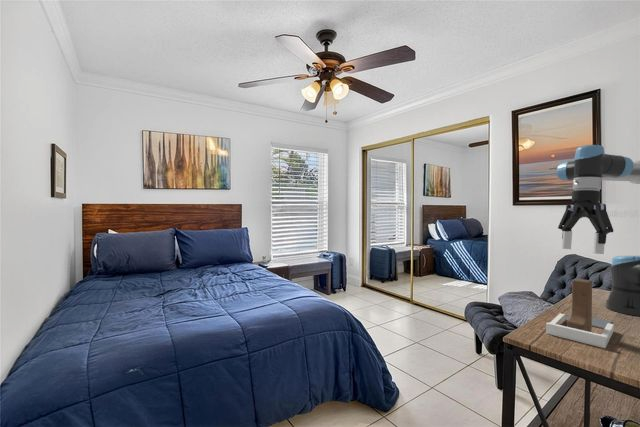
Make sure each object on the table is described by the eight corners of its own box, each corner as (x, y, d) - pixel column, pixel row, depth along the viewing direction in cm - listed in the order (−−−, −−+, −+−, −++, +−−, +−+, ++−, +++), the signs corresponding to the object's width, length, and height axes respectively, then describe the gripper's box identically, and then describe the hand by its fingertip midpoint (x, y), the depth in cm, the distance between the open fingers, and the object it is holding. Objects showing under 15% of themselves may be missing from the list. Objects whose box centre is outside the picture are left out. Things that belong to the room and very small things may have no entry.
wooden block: (583, 338, 101) (584, 284, 101) (566, 334, 105) (567, 281, 104) (591, 332, 106) (592, 280, 106) (575, 328, 110) (576, 278, 109)
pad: (571, 313, 124) (571, 312, 124) (611, 322, 115) (611, 321, 115) (564, 320, 117) (564, 319, 117) (607, 329, 108) (607, 328, 108)
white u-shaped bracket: (559, 319, 118) (559, 310, 118) (613, 331, 107) (613, 321, 106) (546, 333, 105) (546, 323, 105) (605, 348, 94) (605, 337, 94)
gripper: (549, 192, 119) (545, 246, 119) (607, 186, 94) (601, 255, 94) (569, 193, 119) (565, 248, 119) (632, 188, 94) (627, 257, 94)
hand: (581, 251), depth 107 cm, fingers open, 13 cm apart
